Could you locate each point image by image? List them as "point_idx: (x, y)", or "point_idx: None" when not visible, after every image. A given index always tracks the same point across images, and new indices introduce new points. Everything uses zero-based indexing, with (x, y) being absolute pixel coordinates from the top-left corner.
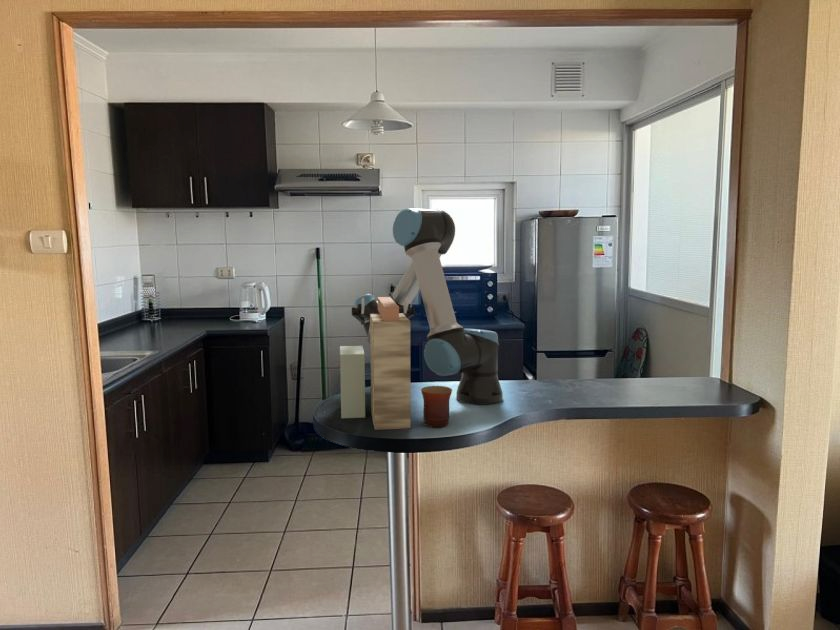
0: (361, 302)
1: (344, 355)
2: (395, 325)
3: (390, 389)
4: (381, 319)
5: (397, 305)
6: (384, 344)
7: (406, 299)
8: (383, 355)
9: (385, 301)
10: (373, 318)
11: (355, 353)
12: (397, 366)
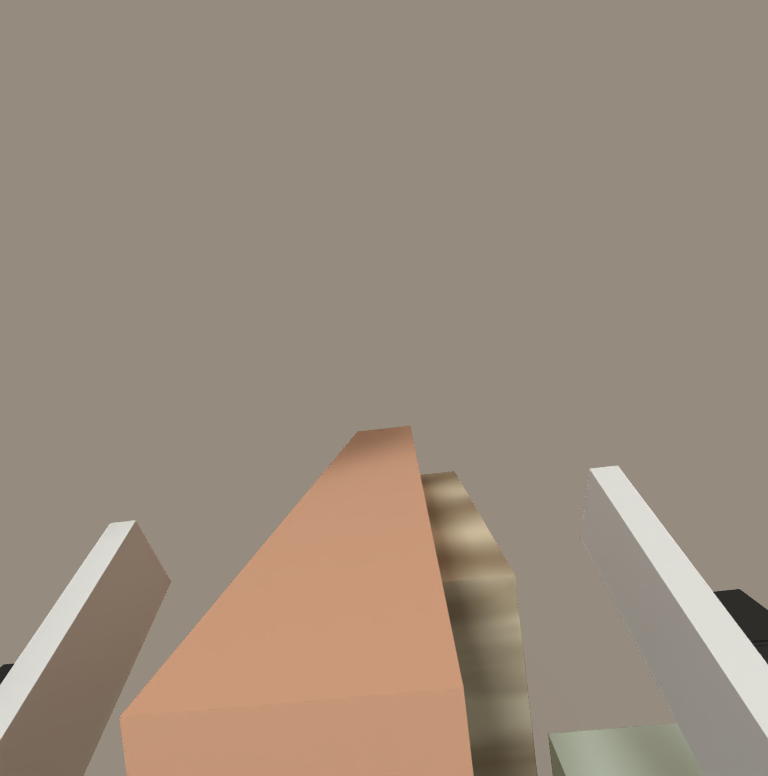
0: (690, 573)
1: (665, 729)
2: None
3: None
4: (425, 490)
5: (356, 435)
6: None
7: (136, 538)
8: None
9: (384, 463)
10: (462, 497)
11: (611, 749)
12: None
